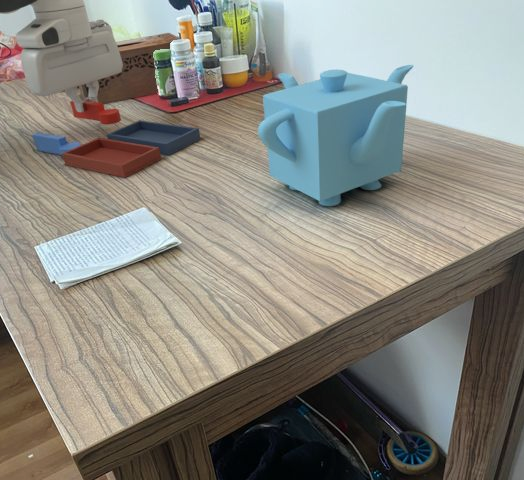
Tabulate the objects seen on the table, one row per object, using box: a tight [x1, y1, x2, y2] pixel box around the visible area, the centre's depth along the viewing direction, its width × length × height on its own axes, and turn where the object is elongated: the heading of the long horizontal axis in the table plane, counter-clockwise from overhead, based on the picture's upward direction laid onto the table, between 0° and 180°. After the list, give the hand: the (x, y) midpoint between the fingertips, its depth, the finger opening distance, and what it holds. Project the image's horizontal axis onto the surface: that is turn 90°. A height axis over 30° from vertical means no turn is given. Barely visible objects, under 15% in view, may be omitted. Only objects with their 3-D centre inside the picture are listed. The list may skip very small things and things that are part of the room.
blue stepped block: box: [31, 131, 83, 156], centre depth 96 cm, size 12×4×3 cm, turn 55°
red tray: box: [61, 137, 162, 178], centre depth 89 cm, size 16×9×2 cm, turn 55°
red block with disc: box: [69, 100, 122, 126], centre depth 100 cm, size 12×4×3 cm, turn 55°
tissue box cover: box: [78, 32, 181, 105], centre depth 126 cm, size 26×14×10 cm, turn 112°
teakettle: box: [257, 64, 415, 207], centre depth 68 cm, size 19×19×15 cm
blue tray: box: [106, 120, 202, 156], centre depth 95 cm, size 16×9×2 cm, turn 55°
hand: (88, 109), depth 101 cm, fingers closed on red block with disc
